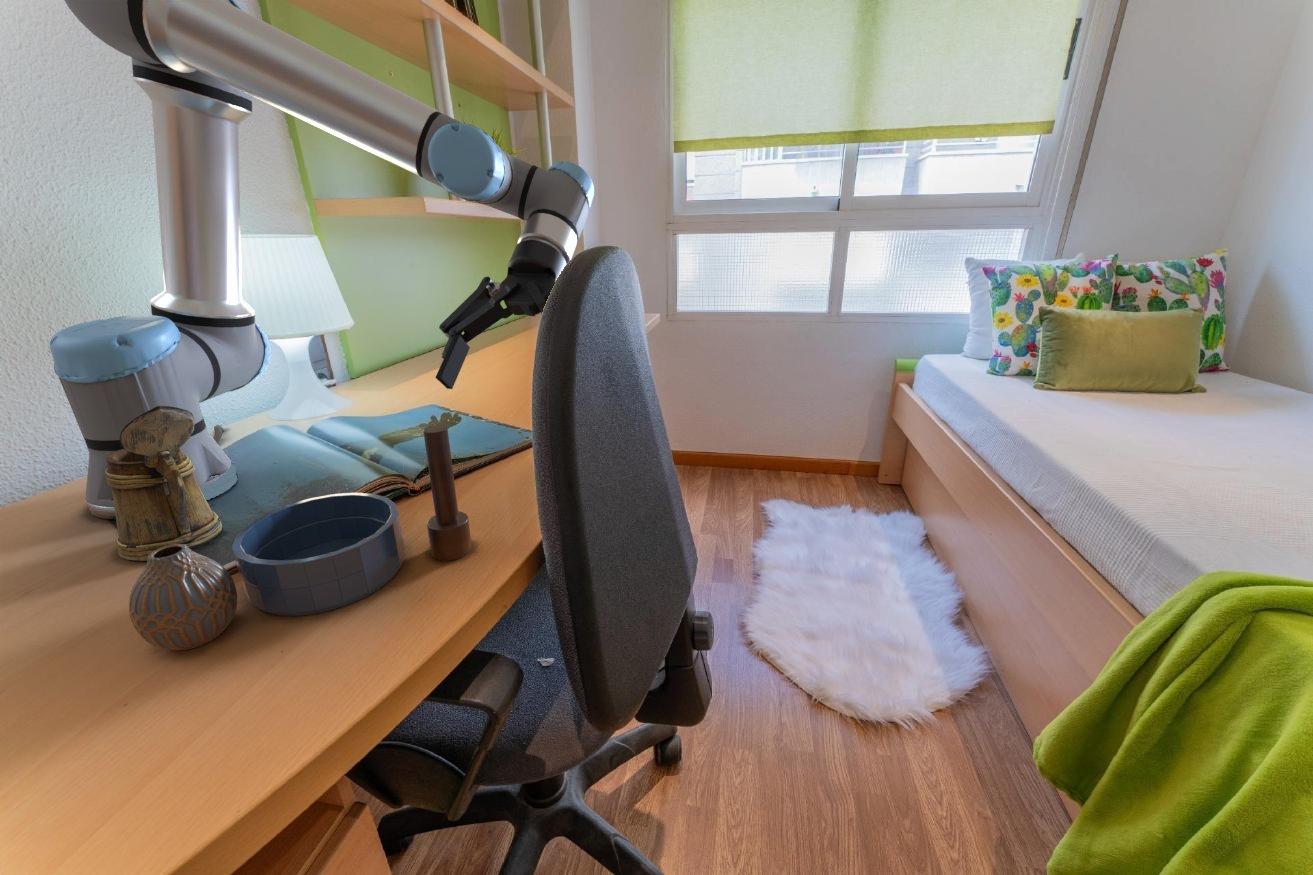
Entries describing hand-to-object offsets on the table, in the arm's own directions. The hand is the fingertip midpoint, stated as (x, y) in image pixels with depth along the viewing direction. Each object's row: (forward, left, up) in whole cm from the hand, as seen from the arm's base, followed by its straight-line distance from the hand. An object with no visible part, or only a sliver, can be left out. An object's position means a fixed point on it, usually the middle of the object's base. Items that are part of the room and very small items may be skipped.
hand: (490, 388), depth 64 cm
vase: (+1, -32, -17) cm, 36 cm away
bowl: (0, -21, -17) cm, 26 cm away
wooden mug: (-18, -31, -17) cm, 39 cm away
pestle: (+5, -10, -17) cm, 20 cm away
